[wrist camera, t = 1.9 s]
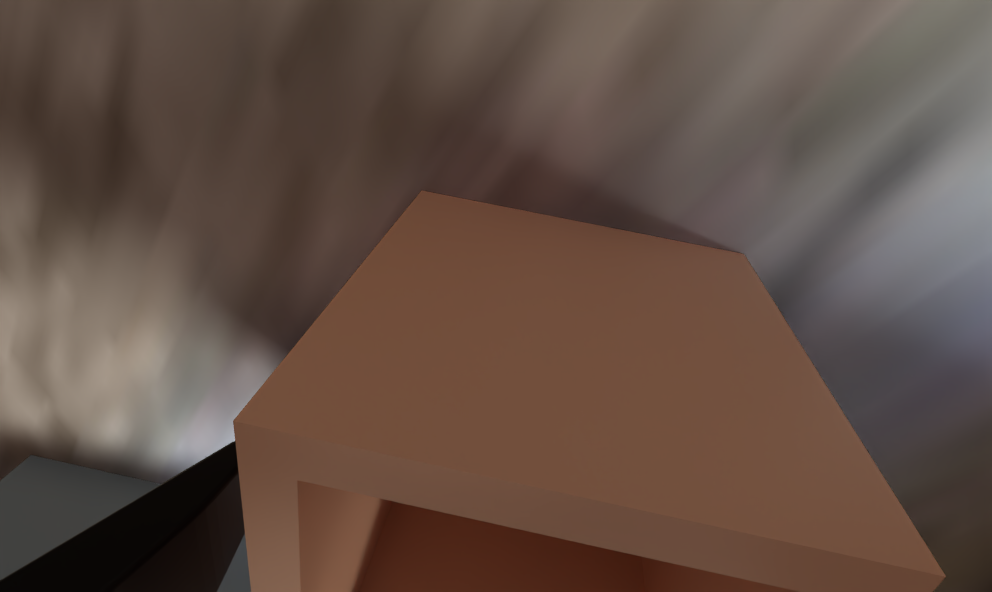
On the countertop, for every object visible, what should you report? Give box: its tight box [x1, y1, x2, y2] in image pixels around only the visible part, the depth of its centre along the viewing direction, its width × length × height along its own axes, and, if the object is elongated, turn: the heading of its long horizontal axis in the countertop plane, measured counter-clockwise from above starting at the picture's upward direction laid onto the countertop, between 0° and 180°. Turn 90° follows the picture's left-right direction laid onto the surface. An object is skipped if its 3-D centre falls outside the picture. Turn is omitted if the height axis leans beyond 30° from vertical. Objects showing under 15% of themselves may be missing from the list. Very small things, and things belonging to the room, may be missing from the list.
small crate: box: [233, 191, 946, 592], centre depth 10 cm, size 6×6×7 cm
